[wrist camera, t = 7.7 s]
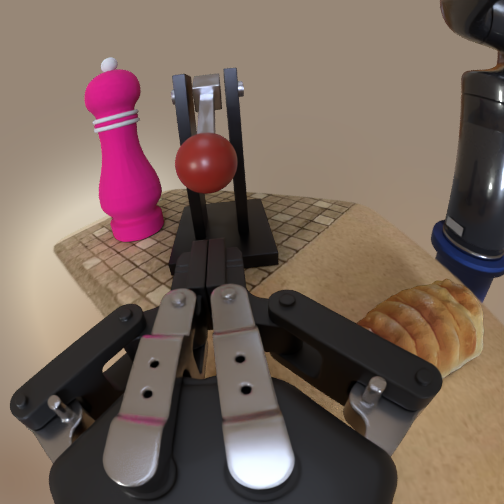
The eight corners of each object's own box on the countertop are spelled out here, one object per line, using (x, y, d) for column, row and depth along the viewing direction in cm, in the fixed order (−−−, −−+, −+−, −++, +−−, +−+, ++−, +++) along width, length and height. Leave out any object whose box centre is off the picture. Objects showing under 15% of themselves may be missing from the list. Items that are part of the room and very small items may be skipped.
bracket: (278, 264, 24) (270, 61, 16) (171, 275, 24) (133, 79, 15) (261, 207, 34) (252, 72, 26) (185, 215, 34) (166, 82, 25)
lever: (241, 202, 17) (238, 153, 14) (180, 209, 16) (166, 162, 13) (229, 100, 24) (226, 66, 21) (190, 105, 24) (184, 71, 21)
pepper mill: (180, 217, 33) (156, 48, 23) (142, 248, 28) (105, 48, 17) (136, 213, 36) (110, 64, 25) (98, 240, 30) (62, 71, 20)
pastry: (367, 426, 11) (390, 389, 9) (317, 337, 17) (323, 290, 15) (480, 359, 13) (506, 316, 11) (426, 299, 19) (440, 257, 17)
